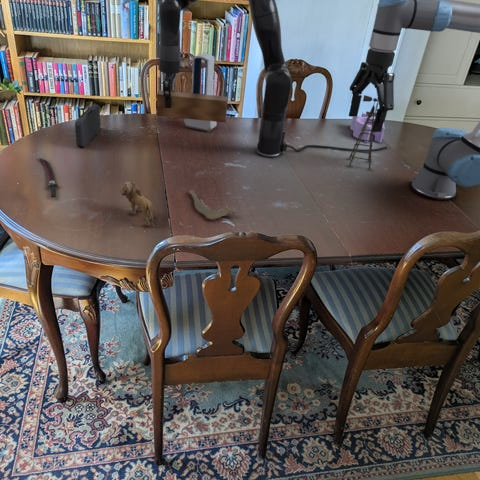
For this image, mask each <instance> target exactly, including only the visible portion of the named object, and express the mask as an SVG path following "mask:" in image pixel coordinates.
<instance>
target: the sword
mask: <svg viewBox="0 0 480 480" xmlns="http://www.w3.org/2000/svg"><path fill="white" fill-rule="evenodd" d="M40 161H41V162H42V163H43V165H44V166H45V169H46V173H47V176H48V185H47V188H50V198H56V197H57V189H56V188H57V187H59V185H58V184H57V183H56V180H55V176H54V172H53V169H52V167H51V164H50V163H49V161H48V160H46V159H43V158H40Z"/></svg>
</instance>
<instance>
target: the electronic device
mask: <svg viewBox="0 0 480 480" xmlns="http://www.w3.org/2000/svg"><path fill="white" fill-rule="evenodd" d="M215 57H216V56H214V55H212V54H210V53H200V54H197V55H195V56H192V71H191V73H192V74H191V78H192V79H191V93H194V94H201V85H202V84H201V82H202V81H201V78H202V61H204V62H205V72H204V91H203V92H204V93H203V94H204V95H213V92H214V76H215V75H214V74H215V60H216V59H215ZM183 119H184V118H183ZM183 122H184V125H185V126H186V128H189V129H193V130H197V131H203V132H208V133H209V132H211V131H212V130H213V129H214V128H216V126H218V125H217V122H215V121H205V120H194V119H184V120H183Z"/></svg>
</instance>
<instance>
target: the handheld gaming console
mask: <svg viewBox="0 0 480 480" xmlns="http://www.w3.org/2000/svg"><path fill="white" fill-rule="evenodd" d="M99 130H101V112H100V105H99V104H95V103H94V104H91V105H90V106H89V107H88V108H87V109H85V111H84V112H83V113H82V114H81V115H79V117H78V118H77V119H76V120H75V122H74V131H75V141H76V146H77V147H79V148H85V147H86V146H87V145H88V144H89V143H90V141H91V140H92V139H93V137H95V136H96V134H97V133H98V132H99Z"/></svg>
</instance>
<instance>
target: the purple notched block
mask: <svg viewBox="0 0 480 480" xmlns="http://www.w3.org/2000/svg"><path fill="white" fill-rule="evenodd" d="M367 117H368V116H367V115H366V112H361V115H357V116H352V118H351V122H350V126H349V129H350V130H351V131H353V132H352V136H353V137H354V138H356V139H358V137H359V135H360V133H361V129H362V128H363V126H364V124H365V122H366V118H367ZM372 118H373V117H372ZM372 118H370V119H371V120H372ZM374 121H375V118H374ZM368 122H372V121H370V120H369V121H368ZM373 125H374V124H373ZM371 128H372V123H368V124H367V126H366V129H368V130H371ZM385 129H386V127H385V122H384V123H383V126H382V130H381V132H373V136H374V139H373V140H374V142H376V143H382V140H383V137H384V132H385ZM364 133H370V134H371V131H367V130H365V131H364ZM361 135H362V134H361ZM360 137H361V136H360ZM370 137H371V135H369V134H363V136H362V138H361V139H363V140H370ZM363 142H364V143H368V142H369V141H363Z"/></svg>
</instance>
